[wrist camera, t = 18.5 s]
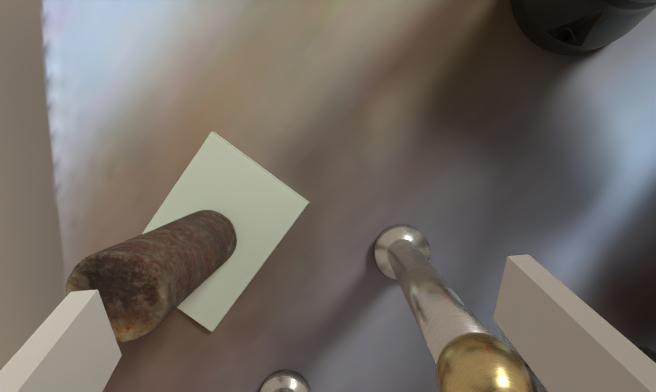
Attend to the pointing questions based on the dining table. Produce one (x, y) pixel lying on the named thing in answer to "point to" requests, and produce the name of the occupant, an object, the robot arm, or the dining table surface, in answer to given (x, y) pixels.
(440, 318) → the stanchion posts
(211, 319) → the sage board
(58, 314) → the robot arm
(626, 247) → the dining table surface
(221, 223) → the rusty metal cylinder
